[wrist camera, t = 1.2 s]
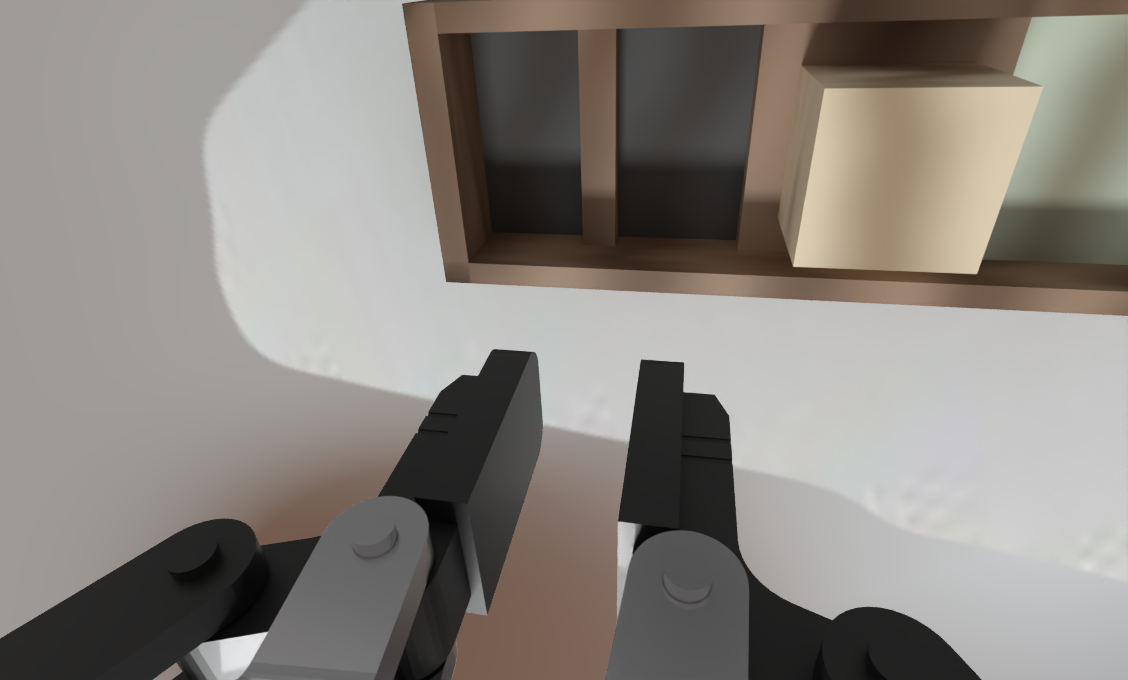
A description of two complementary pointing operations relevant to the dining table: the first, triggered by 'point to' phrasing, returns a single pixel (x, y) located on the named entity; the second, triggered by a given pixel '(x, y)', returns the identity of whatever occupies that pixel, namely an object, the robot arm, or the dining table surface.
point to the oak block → (901, 164)
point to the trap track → (749, 143)
